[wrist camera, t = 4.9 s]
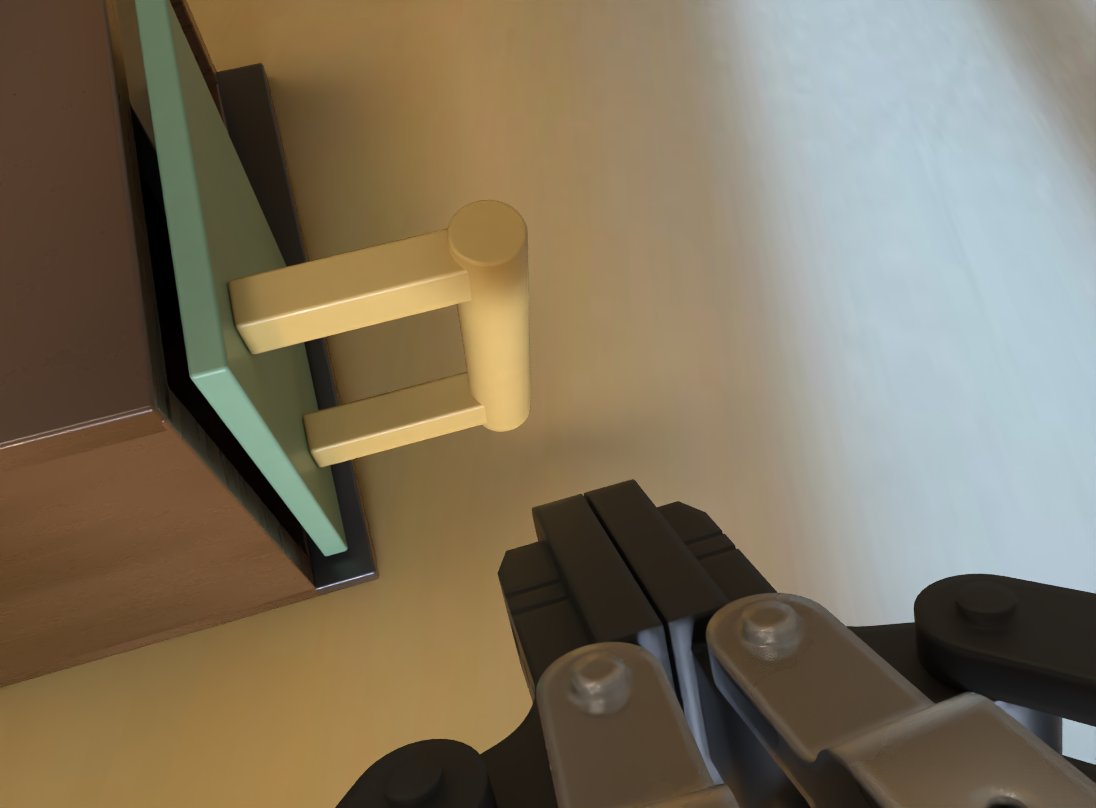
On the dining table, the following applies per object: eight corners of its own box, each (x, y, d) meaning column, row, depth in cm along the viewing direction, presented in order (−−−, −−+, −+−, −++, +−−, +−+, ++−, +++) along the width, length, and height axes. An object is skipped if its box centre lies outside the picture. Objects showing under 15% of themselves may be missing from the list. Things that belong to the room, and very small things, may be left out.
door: (325, 557, 22) (188, 378, 14) (268, 276, 26) (132, -7, 17) (550, 494, 23) (557, 286, 14) (465, 229, 27) (430, -65, 18)
